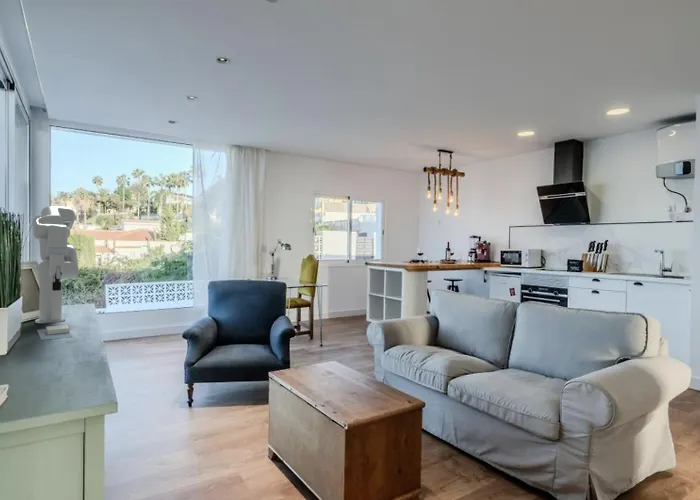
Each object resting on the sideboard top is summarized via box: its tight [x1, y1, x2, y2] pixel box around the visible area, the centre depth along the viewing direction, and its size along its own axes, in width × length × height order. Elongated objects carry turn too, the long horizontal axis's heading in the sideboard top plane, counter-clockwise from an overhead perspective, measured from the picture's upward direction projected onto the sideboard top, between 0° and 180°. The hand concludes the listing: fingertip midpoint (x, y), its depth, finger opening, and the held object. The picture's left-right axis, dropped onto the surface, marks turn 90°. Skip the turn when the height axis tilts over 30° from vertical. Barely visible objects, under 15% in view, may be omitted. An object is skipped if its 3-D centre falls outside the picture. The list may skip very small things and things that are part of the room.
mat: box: [36, 328, 73, 341], centre depth 187 cm, size 24×11×1 cm, turn 41°
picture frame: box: [45, 324, 71, 335], centre depth 189 cm, size 2×8×9 cm
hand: (56, 290), depth 194 cm, fingers closed
